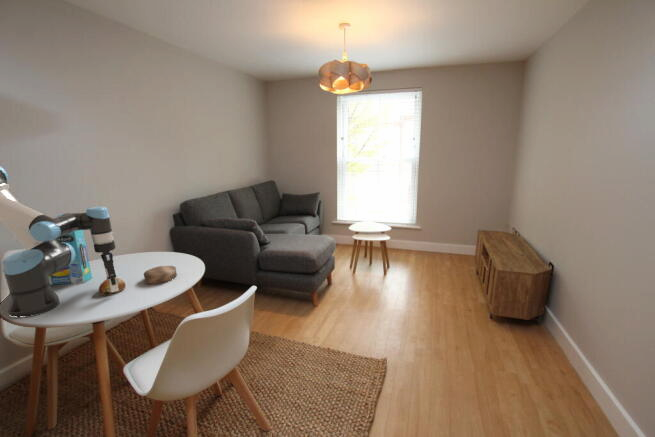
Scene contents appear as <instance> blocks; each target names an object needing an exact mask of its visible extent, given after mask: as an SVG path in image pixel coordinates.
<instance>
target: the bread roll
mask: <svg viewBox="0 0 655 437" xmlns="http://www.w3.org/2000/svg"><path fill="white" fill-rule="evenodd" d="M116 279H117V284H118V288H119V291H115V292H111V288H110V283H109V279H107V278H105V280H103V282H101V283H100V285H99V287H98V292H99V295H101V296H112V295H116V294H119V293H120V292H123V291H124V290H125V289H126V283H125V281H124V280H123V279H121V278H120V277H116Z"/></svg>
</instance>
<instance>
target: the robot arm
mask: <svg viewBox="0 0 655 437" xmlns="http://www.w3.org/2000/svg"><path fill="white" fill-rule="evenodd" d="M8 177H9V175H8V173H7V171H6V169H4V168H3V167H2V166H1V165H0V221H1V222H2V224H4V225H5V227H7V229H8V230H10V232H11V233H12V234H13V235H14V236H15V238H17V240H19V242H20V243H21V244H22V245H23V246H24V247H25V250H22V251H20V252H19V251H18V252H15V253H13V254H10V255H8V256H6V257H5V258H4V259H3V260H2V267H3V268H2V271H3V272H2V273H3V274H4V277H5V280H6V283H7V287H8V292H9V294H10V298H9V299H10V300H9V304H8V309H7V312H8V316H9V315H11V316H17V317H20V316H30V317H32V316H31V315H34V316H37V315H36V314H38V315H40V313H41V314H43V312H44V313H47V312H49V311H51V310H53V309H55V308H56V307H57V306H59V305H60V303H61V301H60V298H59V296H58V294H57V293H56V291H55V290H54V289H53V288H52V285H50V283H49V278H48V277H49V276H51V275H53V274H55V273H56V272H58V271H60V270H63V269H65V268H67V267H68V266H70V265H71V264H72V263H73V262H74V260H75V250H74V248H73V247H72V246H71V245H70V244H68V243H65V242H59V240H58V239H57V238H58V237H60V236H63V235H66V234H69V233H72V232H74V231H78V230H83V231H85V230H86V231H90V235H91V240H92V243H93V249H94V252H95V253H97V254H98V253H99V254H100V253H101V254H100V257H101V260H102V262H103V266H104V269H105V275H106V279H109V283H110V288H111V292H115V291H119V288H118V284H117V279H116V278H117V274H116V270H115V265H114V259H113V258H114V256H113V253H112V252H111V251H115V249H117V248H116V242H115V241H114V236H115V232H113V228H112V224H111V217H110V213H109V210H108V208H107V207H106V206H101V205H100V206H93V207H89V208H86V209H85V212H65V213H61V214H58V215H57V216H56V217H50V216H48V215H46V214H45V213H42V212H39V211H37V210H35V209H33V208H30V207H29V206H26V205H25V204H23V203H20V201H18V200H17V198H16V197H15V196H14V195H13V193H11V192H10V191H9V189H10V184H9V178H8Z"/></svg>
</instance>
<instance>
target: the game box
mask: <svg viewBox="0 0 655 437" xmlns="http://www.w3.org/2000/svg"><path fill="white" fill-rule="evenodd" d="M57 239H58V240H59V242H65V243H68V244H70V245H71V246H72V247H73V248H74V250H75V260H74V262H73V263H72V264H71V265H70V266H68V267H67V268H65V269H63V270H60V271H58V272H56V273H55V274H53V275H51V276H49V277H48V278H49V283H50V286H52V285H68V284H70V285H71V284H85V283H87V282H89V281H91V280H92V279H93V274H92V272H91V265H90V260H89V255H88V250H87V244H86V240H85V234H84V230H78V231H74V232H72V233H69V234H66V235H63V236H60V237H58V238H57Z"/></svg>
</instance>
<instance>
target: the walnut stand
mask: <svg viewBox="0 0 655 437" xmlns="http://www.w3.org/2000/svg"><path fill="white" fill-rule="evenodd" d="M176 276H178V273H177V267H176V266H173V265H160V266H156V267H152V268H150V269H147V270H146V271H144V272H143V278H144V282H145V284H148V285H152V286H153V285H162V284H165V282H166V283H169V282H172V281H173V280H175V279H176V278H177V277H176ZM175 277H176V278H175ZM174 278H175V279H174ZM172 279H173V280H172ZM168 281H169V282H168Z"/></svg>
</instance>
